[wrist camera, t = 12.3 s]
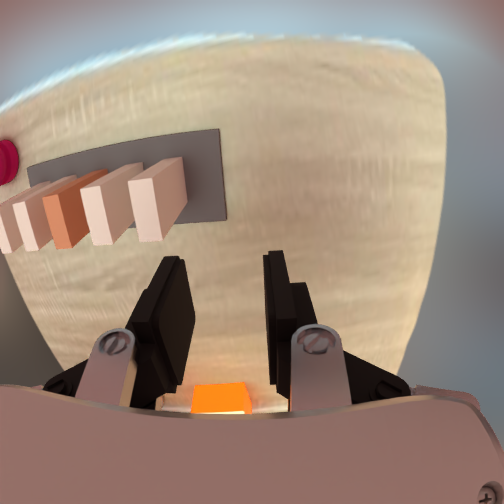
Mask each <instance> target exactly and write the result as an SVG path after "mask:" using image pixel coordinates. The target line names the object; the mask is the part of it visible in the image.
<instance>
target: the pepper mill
mask: <svg viewBox="0 0 504 504" xmlns="http://www.w3.org/2000/svg"><path fill="white" fill-rule="evenodd" d="M18 164H19V162H18V153H17V150H16V148H15V146H14V145H13V143H12V142H10V141H9V140H2V141H0V186H1V185H4V184H6V183H8V182H10V181H12V180H13V179H14V177H15V175H16V173H17V170H18Z"/></svg>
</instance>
